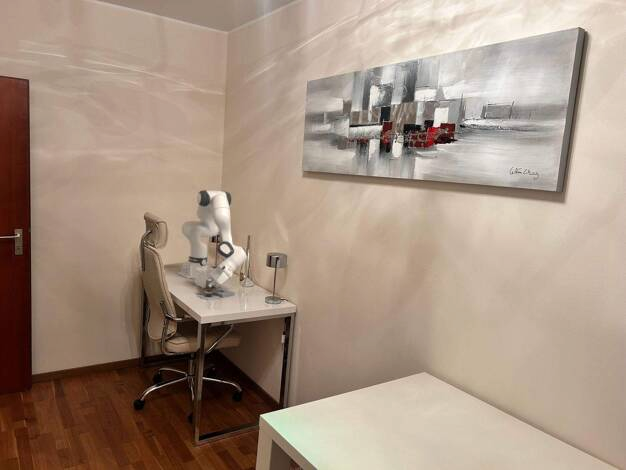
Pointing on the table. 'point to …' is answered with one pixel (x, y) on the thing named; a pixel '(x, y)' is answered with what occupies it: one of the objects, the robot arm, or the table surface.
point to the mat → (208, 297)
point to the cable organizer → (203, 276)
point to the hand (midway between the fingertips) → (208, 285)
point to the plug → (208, 288)
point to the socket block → (222, 293)
